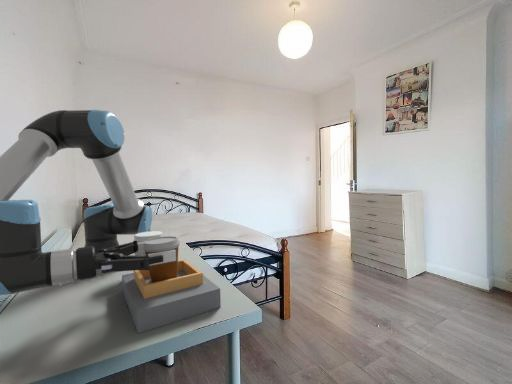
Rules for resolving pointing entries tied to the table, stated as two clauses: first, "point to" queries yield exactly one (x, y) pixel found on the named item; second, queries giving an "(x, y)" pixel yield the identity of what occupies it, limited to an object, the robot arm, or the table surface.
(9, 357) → the table surface
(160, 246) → the disposable coffee cup
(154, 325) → the grey platform
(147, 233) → the supplement tub
